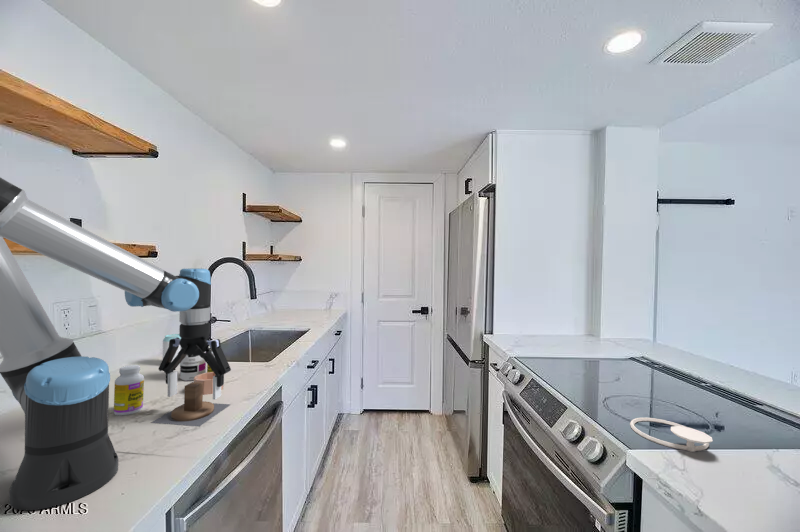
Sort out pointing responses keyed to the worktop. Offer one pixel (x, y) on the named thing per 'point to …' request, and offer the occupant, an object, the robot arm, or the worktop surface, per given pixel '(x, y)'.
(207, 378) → the bowl
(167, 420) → the mat
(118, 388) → the supplement bottle
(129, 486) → the worktop surface
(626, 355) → the worktop surface
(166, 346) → the can
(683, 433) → the hand towel holder
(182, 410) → the lid
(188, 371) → the supplement can
